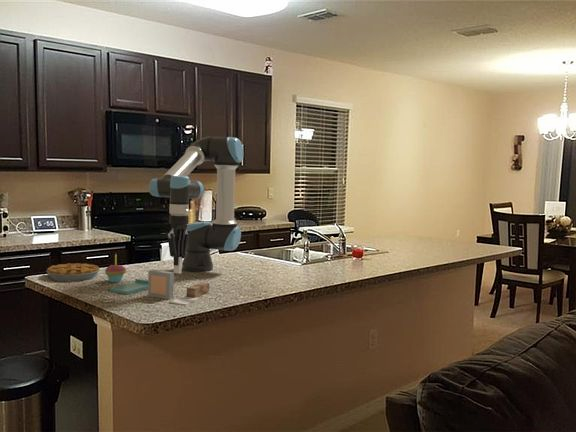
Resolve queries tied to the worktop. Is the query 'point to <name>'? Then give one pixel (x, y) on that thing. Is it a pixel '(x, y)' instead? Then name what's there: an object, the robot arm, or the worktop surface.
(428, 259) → the worktop surface
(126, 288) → the rest
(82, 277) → the pie
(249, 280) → the worktop surface
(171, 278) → the tile
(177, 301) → the turner
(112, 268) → the cupcake
